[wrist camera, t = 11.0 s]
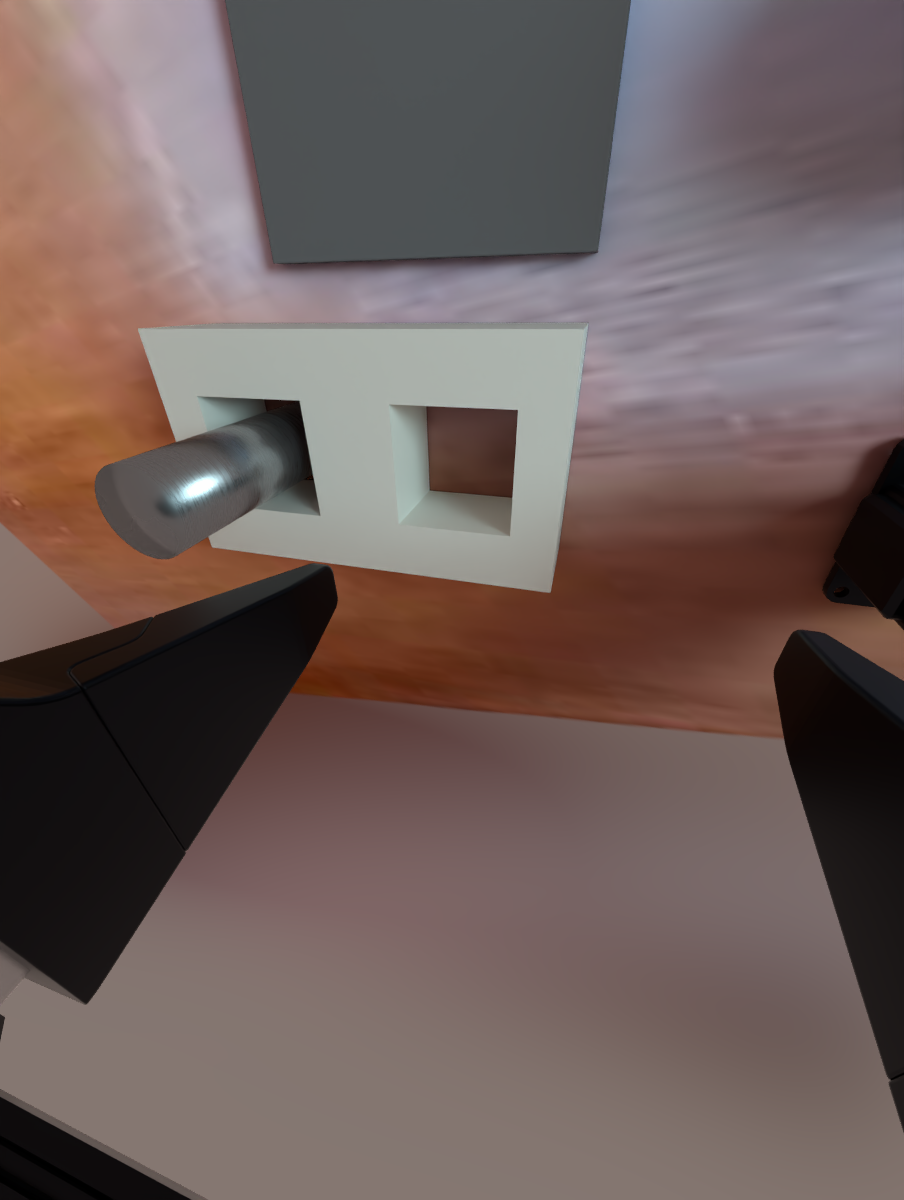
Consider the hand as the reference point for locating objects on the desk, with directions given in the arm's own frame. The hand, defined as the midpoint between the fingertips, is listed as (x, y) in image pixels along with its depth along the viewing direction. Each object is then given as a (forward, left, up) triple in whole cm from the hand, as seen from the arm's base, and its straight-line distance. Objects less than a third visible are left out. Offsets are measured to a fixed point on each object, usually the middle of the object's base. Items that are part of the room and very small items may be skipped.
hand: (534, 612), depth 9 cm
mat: (+6, -11, -12) cm, 17 cm away
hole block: (+8, 0, -12) cm, 14 cm away
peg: (+12, 0, -12) cm, 17 cm away
